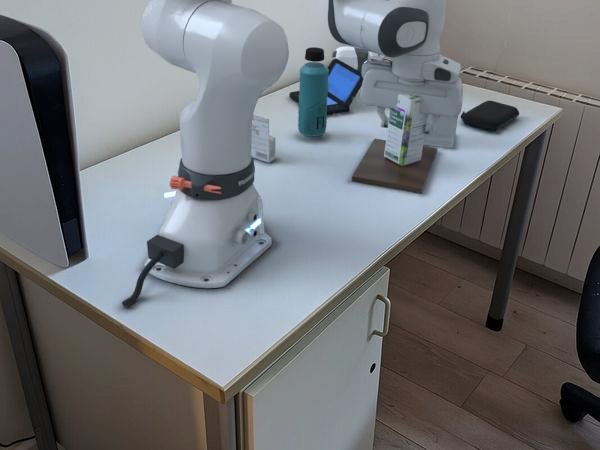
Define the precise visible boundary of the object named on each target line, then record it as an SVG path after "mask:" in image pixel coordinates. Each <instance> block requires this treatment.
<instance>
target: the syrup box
mask: <svg viewBox="0 0 600 450" xmlns="http://www.w3.org/2000/svg"><path fill="white" fill-rule="evenodd" d="M420 97H421V96H415V95H406V94H399V95H398V100H397V105H396V108H395V109H391V108H389V113H388V117H389V122H388V128H387V130H386V138H385V140H386V145H385V152H384V157H385V158H388V159H390V160H392V161H394V162H396V163H398V164H399V165H401V166H404V165H407V164H411V163H414V162H417V161H420V160H421V156H422V149H423V146H424V145H423V143H424V136H425V134H424V131H425V125H426V123H427V117H428V114H425V113H420V112H419V109H420V100H421V98H420Z"/></svg>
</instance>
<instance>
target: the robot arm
mask: <svg viewBox="0 0 600 450" xmlns="http://www.w3.org/2000/svg"><path fill="white" fill-rule="evenodd" d="M233 1H234V0H150V2H149V3H148V4H147V6H146V7H145V9H144V11H143V14H142V19H141V34H142V38H143V41H144V43H145V44H146V46H147V47H148V48H149V50H150V51H152V52H153V53H154V54H156V55H157V56H158V57H160V58H161V59H162V60H164V61H165V62H167V63H168V64H170V65H171V66H175V67H178V68H180V69H182V70H186V71H189V72H191V73H193V74H196V75H197V78H198V84H199V85H198V93H197V97H196V99H194V100H192V101H191V102H190V103H188V104H187V105H186V106H185V107H184V109H182V111H181V113H180V116H179V134H180V135H179V137H180V151H181V158H180V160H179V166H178V168H177V175H172V176H171V177H170V181H169V186H170V189H173V190H175V191H170V192H164V195H163V196H164V198H170V197H172V200H171V202H170V204H169V207H168V209H167V210H166V214H165V216H164V219H163V221H162V223H161V226H160V228H159V233H158V234H156V235H154V236H153V237H151V238H149V239H148V240H146V247H147V259H146V260H145V262H144V267H143V269H142V271H141V272H140V273H139V275H138V277H137V279H136V283H135V288H134V291H133V292H132V294H131V295H130V296H129V297H127V298H126V299H124V300H123V301H122V302H121V304H122V306H123V307H124V308H127V307H129V306H130V305H132V304H134V303H135V302H136V301H137V300H138V298H139V297H140V295H141V293H142V290H143V286H144V283H145V282H144V281H145V280H146V278H147V276H148V275H149V274H150V275H151V276H153V277H154V278H157V279H160V280H161V281H165V282H168V283H171V284H175V285H180V286H183V287H184V286H185V287H191V288H197V289H198V288H199V289H216V288H217V289H218V288H223V287H226V286H227V285H228V284H230V282H231V281H233V280H235V278H236V277H237V276H238V275H239V274H241V273H242V272H244V270H246V269H247V268H248V267H249V266H250V265H251V264H252V263H254V261H256V260H257V259H258V258H259V257H260V256H262V255H263V253H265V252H266V251H267V250H268V249H270V248H271V246H272V245H273V241H272V237H271V236H270V235H269V234H268V233H267V232H266V231H265V220H264V219H265V218H264V205H263V198H262V197H261V195H260V194H259V192H258V190H257V189H256V187H255V184H254V182H255V174H256V165H255V158H253V157H252V156H251V143H252V123H253V120H252V119H253V115H254V114H255V113H254V112H255V109H256V106H257V103H258V101H259V99H260V97H261V96H262V94H263V93H264V92H265V91H266V90H267V89H268V88H271V87H272V86H273V85H274V84H275V83H276V82H278V81H279V79H280V78H281V77H282V75H283V74H284V71H285V70H286V68H287V65H288V62H289V56H290V45H289V44H290V43H289V39H288V36H287V33H286V30H284V27H283V26H281V24H279V23H277V22H276V21H275V20H273V19H271V18H270V17H268V16H267V15H265V14H263V13H261V12H259V11H258V10H255V9H253V8H249V7H245V6H241V5H237V4H235V3H233ZM327 6H328V7H327V26H328V29H329V32H330V34H331V36H332V38H333V39H334V40H335V41H336V42H338V43H340V44H342V45H346V46H350V47H355V48H360V49H364V50H367V51H369V52H373V53H376V54H379V55H382V56H385V57H384V58H391V60H389V59H383V60H377V59H374V58H372V59H370V60H367V61H365V62H364V63H363V65H362V77H363V83H362V86H361V88H360V93H359V101H360V103H361V104H362V105H364V106H371V107H372V106H373V107H377V109H376V112H377V115H378V116H379V118H380V120H381V123H380V127H381V128H385V129H388V122H389V116H387V114H386V109H390V108H391V109H395V108H396V105H397V100H398V95H399V94H406V95H415V96H421V97H420V98H421V100H420V109H419V112H420V113H425V114H432V119H433V121H432V122H431V123H430V124H428V123H426V125H425V131H424V134H428V135H431V134H432V131H433V127H434V125H435V124H436V123H437V122H438V121H439V119H440V116H445V117H452V118H455V117H457V116H458V117H459V116H460V115H461V113H462V107H463V101H464V100H463V98H464V87H463V86H464V85H463V81H462V79H461V78H460V76H461V72H462V65H461V63H460V62H457V61H455V60H453V59H451V58H449V57H446V56H444V55H442V54H441V44H440V39H441V34H442V32H443V30H444V25H445V19H446V18H445V17H446V7H447V0H328V5H327ZM368 62H370V63H368Z"/></svg>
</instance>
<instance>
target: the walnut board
mask: <svg viewBox="0 0 600 450" xmlns="http://www.w3.org/2000/svg"><path fill="white" fill-rule="evenodd" d="M385 145H386V139H381V138H374V139H373V140H372V142H371V144H370V146H369V147H368V148H367V150H366V152H365V153H364V156H363V158H362V159H361V161H360V162H359V164H358V165H357V167H356V169H355V171H354V172H353V173H352V176H351V182H354V183H359V184H365V185H369V186H377V187H381V188H386V189H393V190H398V191H405V192H409V193H416V194H419V195H420V194H423V191H424V189H425V186H426V183H427V181H428V178H429V175H430V172H431V170H432V168H433V165H434V163H435V159H436V157H437V155H438V150H439V149H438V148H439V147H433V146H426V145H423V149H422V156H421V160H420V161H417V162H414V163H411V164H407V165H404V166H401V165H399V164H398V163H396V162H394V161H392V160H390V159H388V158H385V157H384V152H385Z"/></svg>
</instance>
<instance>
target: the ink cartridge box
mask: <svg viewBox="0 0 600 450" xmlns="http://www.w3.org/2000/svg"><path fill="white" fill-rule="evenodd" d="M251 156H252V157H253V159H256V160H259V161H262V162H265V163H269V164H270V163H271V162H274V161H275V160H276V137H275V136H273V135H270V119H269V118H266V117H262V116H259V115H255V114H253V119H252V143H251Z"/></svg>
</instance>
